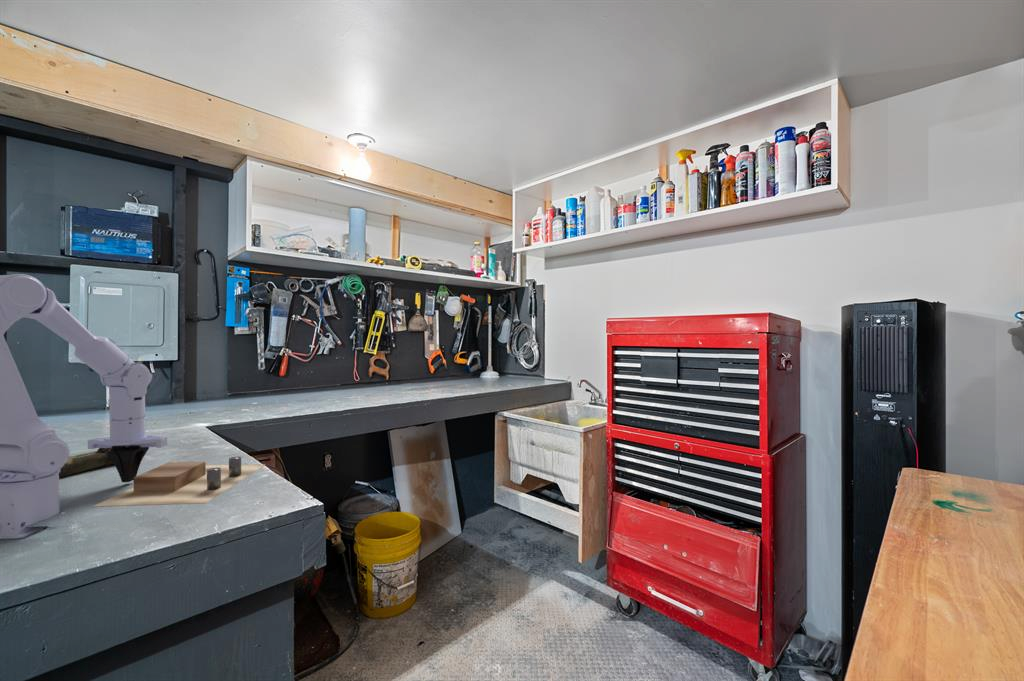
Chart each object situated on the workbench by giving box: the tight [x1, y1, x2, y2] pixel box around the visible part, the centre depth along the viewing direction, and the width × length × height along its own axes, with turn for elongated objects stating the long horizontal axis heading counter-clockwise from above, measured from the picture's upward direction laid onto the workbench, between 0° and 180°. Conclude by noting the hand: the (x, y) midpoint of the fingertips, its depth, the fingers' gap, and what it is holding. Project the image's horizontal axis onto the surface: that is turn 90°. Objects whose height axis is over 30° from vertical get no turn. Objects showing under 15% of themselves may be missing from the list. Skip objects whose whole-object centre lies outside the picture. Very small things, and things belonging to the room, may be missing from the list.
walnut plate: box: [132, 461, 206, 492], centre depth 93 cm, size 10×8×3 cm
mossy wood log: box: [59, 448, 114, 479], centre depth 108 cm, size 18×7×6 cm, turn 156°
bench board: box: [92, 456, 266, 508], centre depth 93 cm, size 24×20×6 cm
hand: (128, 480), depth 92 cm, fingers closed
